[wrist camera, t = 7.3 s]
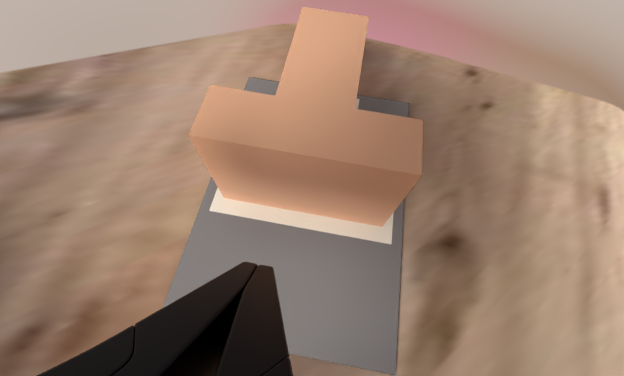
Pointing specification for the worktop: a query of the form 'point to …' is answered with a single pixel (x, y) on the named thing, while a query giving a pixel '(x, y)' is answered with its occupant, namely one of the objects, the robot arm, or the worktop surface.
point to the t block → (312, 133)
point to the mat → (309, 266)
